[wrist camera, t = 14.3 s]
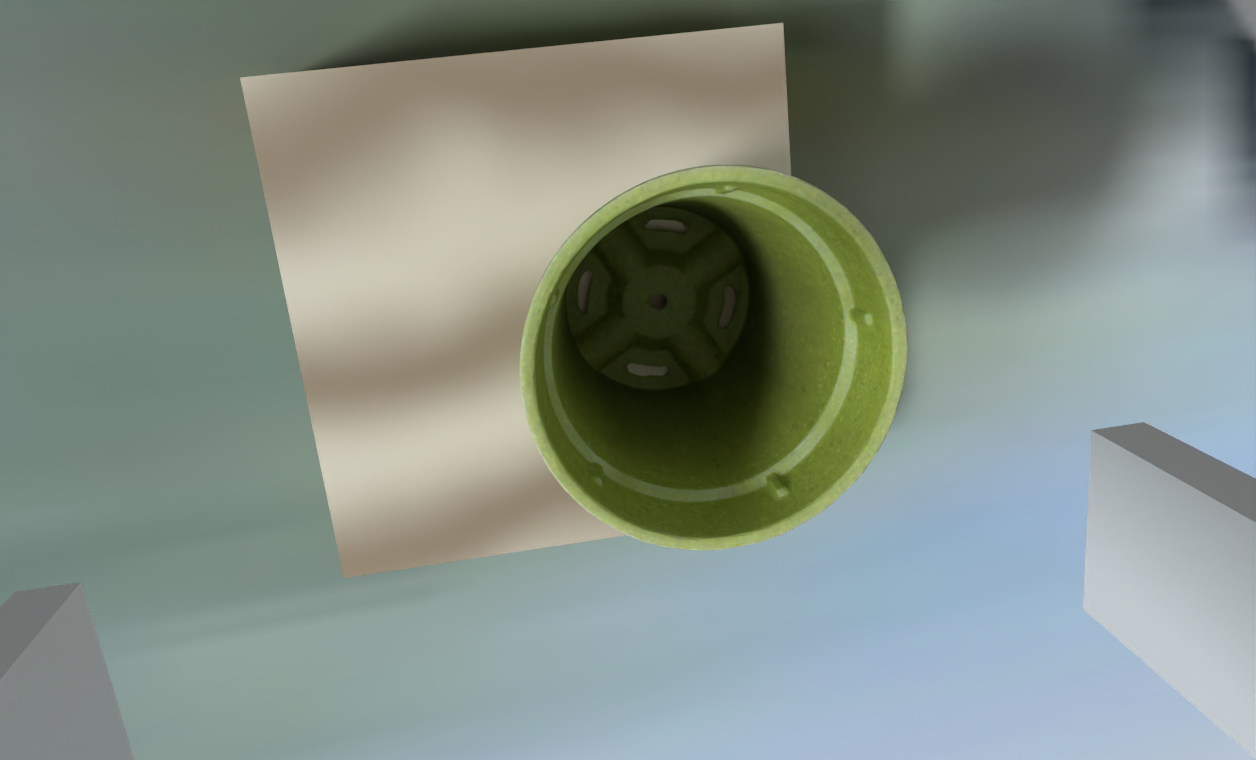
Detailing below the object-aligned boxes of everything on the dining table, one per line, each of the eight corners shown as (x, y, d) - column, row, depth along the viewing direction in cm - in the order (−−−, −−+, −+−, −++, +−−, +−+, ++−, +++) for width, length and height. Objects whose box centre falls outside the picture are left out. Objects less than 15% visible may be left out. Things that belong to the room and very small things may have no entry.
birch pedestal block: (277, 81, 32) (240, 77, 28) (742, 34, 34) (782, 23, 29) (363, 517, 37) (343, 578, 32) (769, 457, 39) (808, 507, 34)
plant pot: (820, 162, 31) (942, 184, 22) (779, 443, 33) (875, 557, 25) (522, 133, 29) (534, 145, 21) (503, 430, 32) (507, 546, 23)
